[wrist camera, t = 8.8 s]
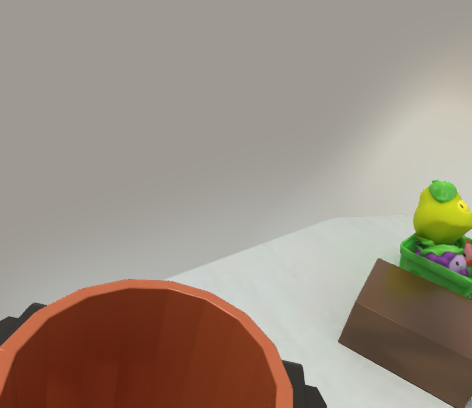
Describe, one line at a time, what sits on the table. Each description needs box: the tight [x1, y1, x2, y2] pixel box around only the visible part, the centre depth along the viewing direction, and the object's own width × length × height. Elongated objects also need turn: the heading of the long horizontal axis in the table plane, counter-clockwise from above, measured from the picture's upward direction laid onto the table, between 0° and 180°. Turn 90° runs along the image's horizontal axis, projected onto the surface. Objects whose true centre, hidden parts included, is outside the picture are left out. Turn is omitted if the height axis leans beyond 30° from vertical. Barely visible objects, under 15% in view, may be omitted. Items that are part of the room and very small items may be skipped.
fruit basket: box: [399, 180, 472, 297], centre depth 38 cm, size 11×9×11 cm
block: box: [338, 258, 472, 408], centre depth 30 cm, size 9×9×4 cm
